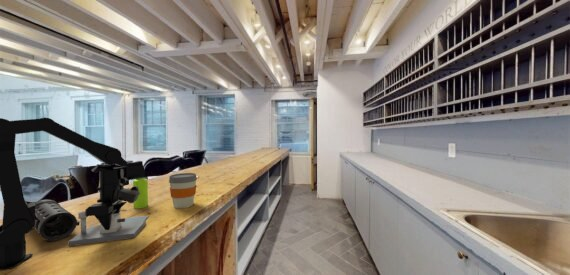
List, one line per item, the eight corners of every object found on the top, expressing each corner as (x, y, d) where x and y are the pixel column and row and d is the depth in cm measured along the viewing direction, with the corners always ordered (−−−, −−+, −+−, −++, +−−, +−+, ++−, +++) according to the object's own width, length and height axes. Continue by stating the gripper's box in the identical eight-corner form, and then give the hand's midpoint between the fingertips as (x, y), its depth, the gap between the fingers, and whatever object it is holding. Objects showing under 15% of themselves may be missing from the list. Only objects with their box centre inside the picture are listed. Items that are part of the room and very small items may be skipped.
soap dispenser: (130, 209, 103) (129, 167, 103) (136, 205, 110) (135, 165, 109) (144, 208, 105) (144, 166, 104) (149, 204, 111) (148, 164, 111)
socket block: (134, 237, 74) (133, 218, 74) (68, 246, 69) (68, 225, 69) (145, 224, 86) (145, 207, 86) (90, 230, 81) (89, 212, 81)
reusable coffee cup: (197, 207, 105) (196, 176, 105) (167, 210, 101) (167, 178, 101) (197, 200, 117) (196, 172, 117) (170, 203, 112) (170, 174, 112)
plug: (121, 235, 76) (121, 216, 76) (100, 237, 75) (99, 219, 75) (127, 229, 81) (127, 212, 81) (106, 232, 79) (106, 214, 79)
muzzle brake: (78, 237, 77) (34, 244, 69) (58, 220, 93) (20, 224, 85) (84, 209, 79) (41, 213, 70) (63, 197, 94) (27, 199, 86)
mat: (142, 223, 86) (142, 222, 86) (118, 226, 84) (118, 225, 84) (148, 216, 94) (148, 215, 94) (127, 218, 92) (127, 217, 92)
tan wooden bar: (107, 205, 89) (107, 200, 89) (85, 218, 74) (85, 212, 74) (100, 205, 88) (100, 200, 88) (76, 219, 74) (76, 213, 74)
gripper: (125, 187, 71) (126, 235, 71) (144, 176, 89) (145, 215, 89) (83, 189, 68) (84, 240, 68) (112, 178, 85) (113, 218, 86)
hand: (111, 226), depth 77 cm, fingers closed on plug, 5 cm apart
